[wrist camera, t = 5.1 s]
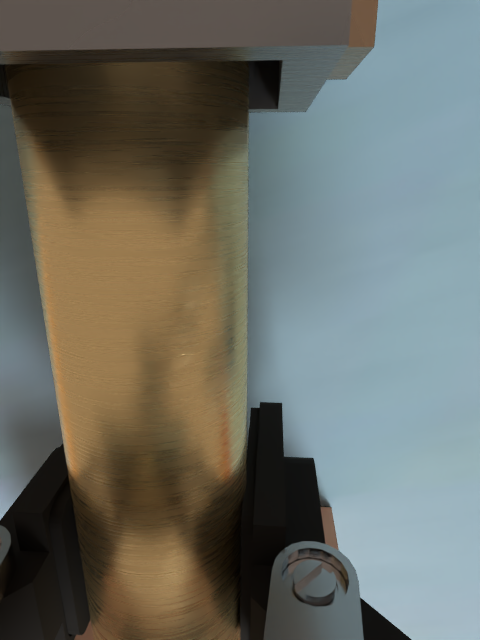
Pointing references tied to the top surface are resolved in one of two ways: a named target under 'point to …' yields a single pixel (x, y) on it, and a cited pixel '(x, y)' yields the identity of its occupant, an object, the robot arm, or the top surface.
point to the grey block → (199, 39)
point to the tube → (146, 327)
